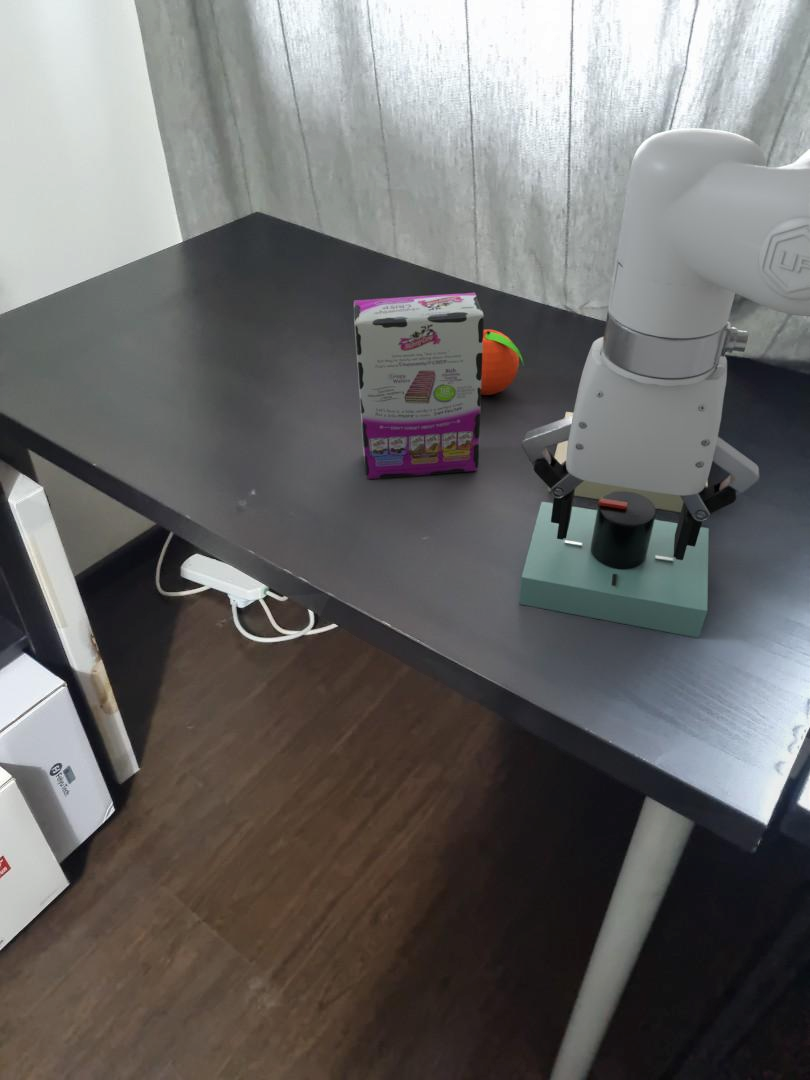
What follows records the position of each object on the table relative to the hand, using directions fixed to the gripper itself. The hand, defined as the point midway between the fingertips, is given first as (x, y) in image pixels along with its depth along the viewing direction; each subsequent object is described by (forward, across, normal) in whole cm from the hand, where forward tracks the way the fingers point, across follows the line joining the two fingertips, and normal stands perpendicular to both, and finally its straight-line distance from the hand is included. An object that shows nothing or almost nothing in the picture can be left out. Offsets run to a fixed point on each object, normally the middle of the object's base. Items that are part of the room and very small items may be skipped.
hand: (620, 538), depth 66 cm
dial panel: (+4, 0, 0) cm, 4 cm away
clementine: (+5, +16, -27) cm, 32 cm away
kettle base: (+4, 0, -16) cm, 17 cm away
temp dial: (+1, 0, 0) cm, 1 cm away
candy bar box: (+5, +20, -12) cm, 24 cm away
